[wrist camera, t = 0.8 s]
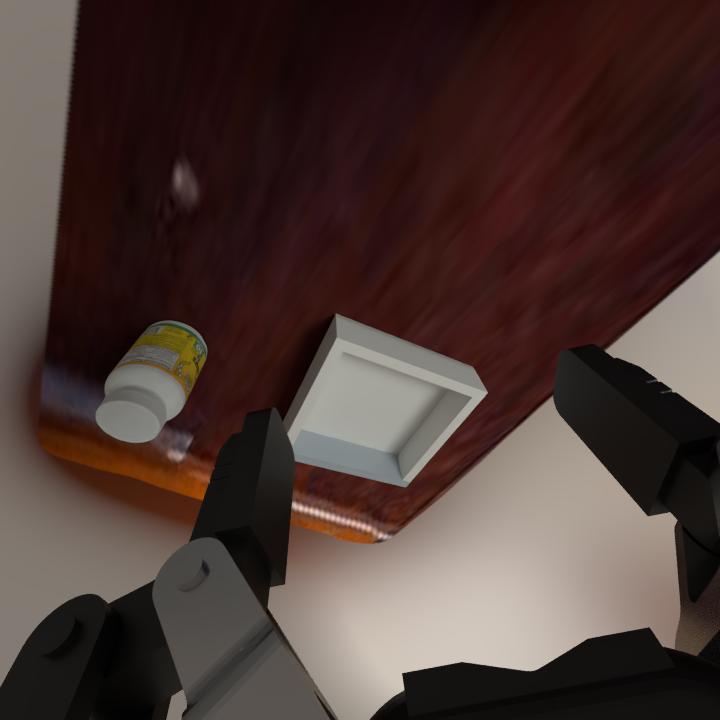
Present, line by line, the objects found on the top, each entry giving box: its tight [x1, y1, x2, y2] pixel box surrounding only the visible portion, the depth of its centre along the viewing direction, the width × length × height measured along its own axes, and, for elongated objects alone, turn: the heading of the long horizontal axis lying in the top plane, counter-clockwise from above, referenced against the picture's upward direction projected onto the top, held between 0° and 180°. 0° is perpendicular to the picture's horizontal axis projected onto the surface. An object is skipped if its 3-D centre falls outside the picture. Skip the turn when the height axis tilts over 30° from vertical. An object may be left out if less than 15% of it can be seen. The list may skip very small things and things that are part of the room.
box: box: [283, 314, 488, 487], centre depth 35 cm, size 15×15×4 cm
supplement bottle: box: [96, 320, 207, 443], centre depth 28 cm, size 5×5×10 cm
